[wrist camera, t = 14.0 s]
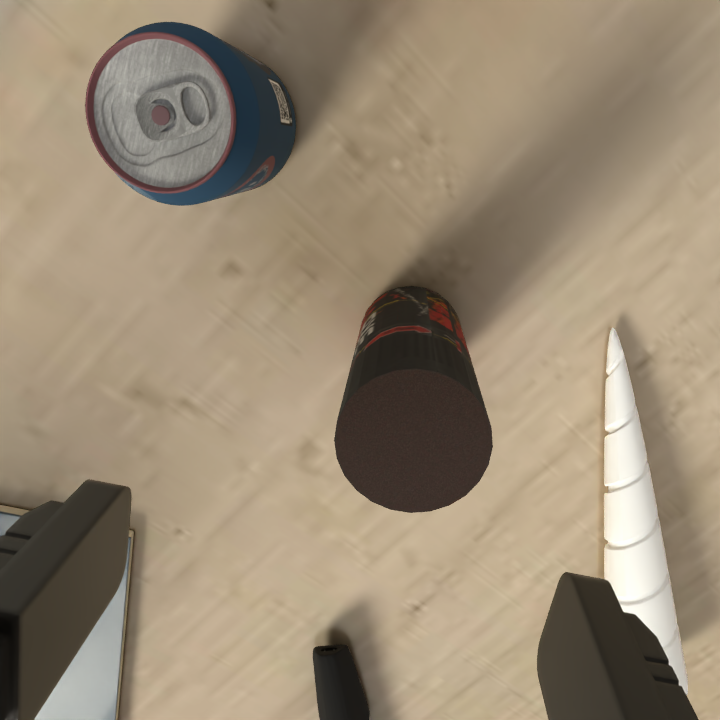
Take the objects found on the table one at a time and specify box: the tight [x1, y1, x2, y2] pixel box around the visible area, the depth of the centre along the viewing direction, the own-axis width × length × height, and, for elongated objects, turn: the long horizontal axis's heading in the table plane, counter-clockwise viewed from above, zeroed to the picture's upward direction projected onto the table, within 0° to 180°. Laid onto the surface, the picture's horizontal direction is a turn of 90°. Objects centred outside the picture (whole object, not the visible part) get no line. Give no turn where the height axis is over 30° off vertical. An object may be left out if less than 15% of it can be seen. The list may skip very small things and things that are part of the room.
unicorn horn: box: [604, 328, 688, 695], centre depth 40 cm, size 5×24×5 cm, turn 7°
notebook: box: [0, 505, 134, 720], centre depth 48 cm, size 21×15×1 cm
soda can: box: [85, 22, 296, 205], centre depth 31 cm, size 7×7×12 cm
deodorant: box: [334, 286, 493, 513], centre depth 32 cm, size 6×6×15 cm
